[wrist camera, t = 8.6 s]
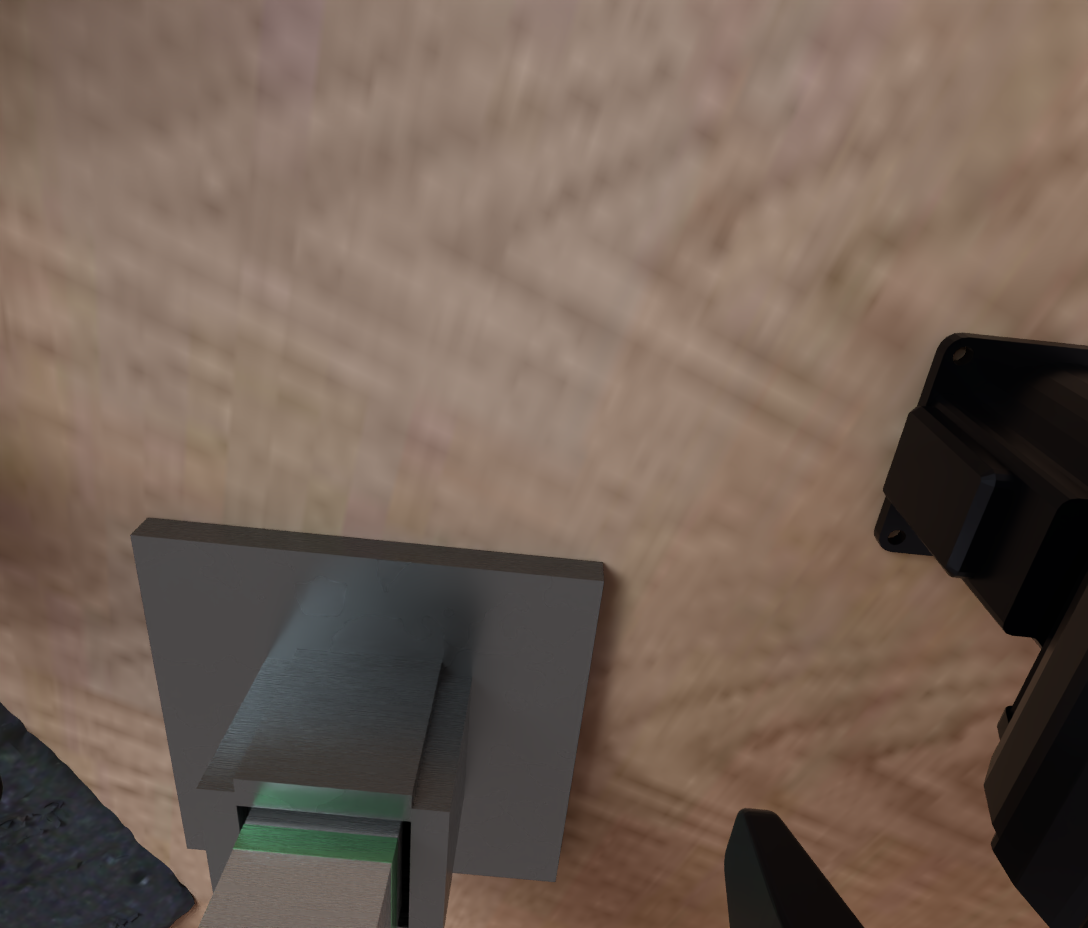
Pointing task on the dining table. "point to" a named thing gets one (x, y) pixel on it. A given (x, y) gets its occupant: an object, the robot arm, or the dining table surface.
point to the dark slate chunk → (71, 850)
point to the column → (310, 873)
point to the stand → (372, 692)
